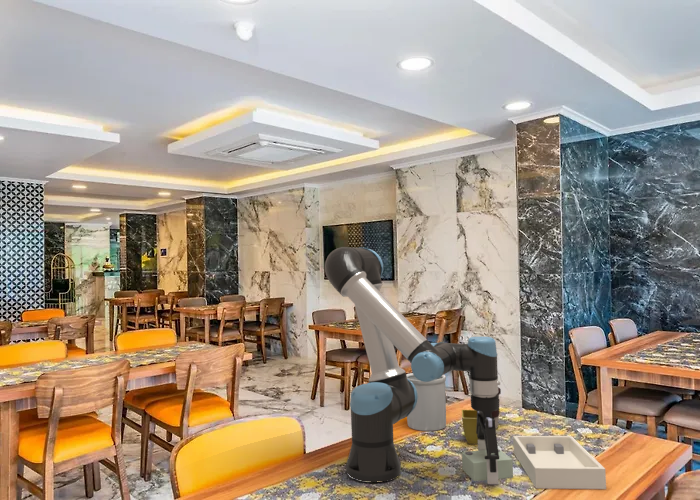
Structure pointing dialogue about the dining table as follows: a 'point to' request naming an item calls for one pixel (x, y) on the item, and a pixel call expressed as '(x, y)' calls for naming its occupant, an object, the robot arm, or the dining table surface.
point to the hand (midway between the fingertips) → (488, 473)
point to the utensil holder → (428, 405)
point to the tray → (558, 463)
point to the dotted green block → (485, 465)
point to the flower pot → (470, 425)
